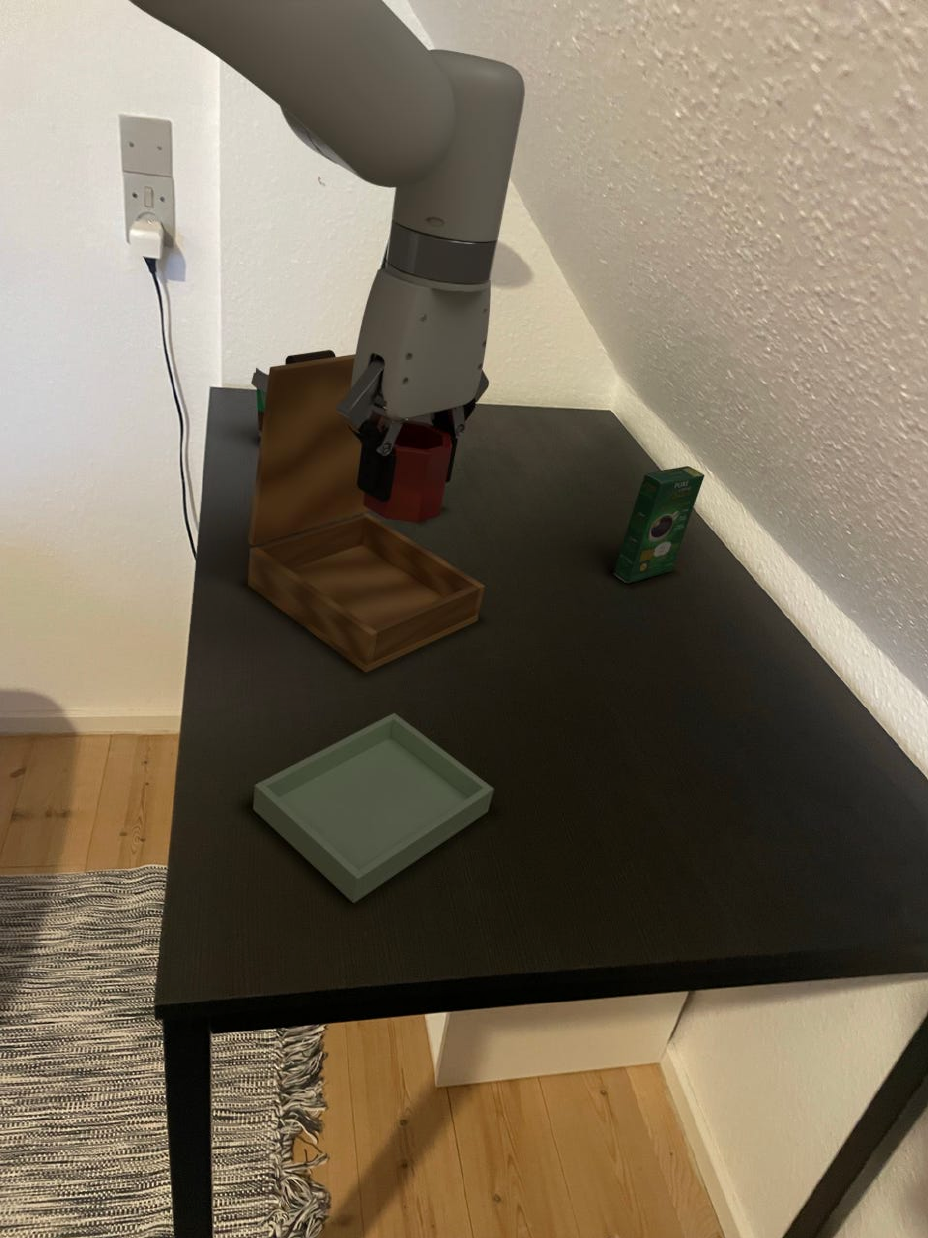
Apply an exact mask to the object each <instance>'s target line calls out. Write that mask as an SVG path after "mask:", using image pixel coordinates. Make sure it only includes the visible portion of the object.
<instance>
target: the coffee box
mask: <svg viewBox="0 0 928 1238" xmlns="http://www.w3.org/2000/svg"><path fill="white" fill-rule="evenodd" d="M704 479H705V474H704V473H702V472H700V471H699V470H697V469H695V468H693V467H691V466H689V465H686V466H680V467H674V468H668V469H662V470H657V471H651V472H644V473H643V477H642V480H641V484H640V488H639V490H638V494H637V496H636V500H635V503H634V506H633V509H632V513H631V515H630V518H629V522H628V525H627V527H626V532H625V533H624V534H625V535H624V538H623V541H622V544H621V547H620V550H619V554H618V556H617V560H616V563H615V566H614V568H613V573H612V574H613V575H614V576H615V577H617V578H618V579H619V580H621V581H622V582H624V583H625V584H632V583H638V582H641V581H642V580H645V579H649V578H652V577H656V576H661V575H664V574H668V573H671V572H672V570H673V567H674V565H675V562H676V559H677V556H678V554H679V550H680V548H681V545H682V541H683V538H684V536H685V533H686V530H687V528H688V525H689V522H690V519H691V515H692V514H693V513H692V512H693V510H694V507H695V504H696V502H697V498H698V496H699V492H700V490H701V487H702V485H703V481H704Z"/></svg>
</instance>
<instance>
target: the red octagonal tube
mask: <svg viewBox="0 0 928 1238" xmlns="http://www.w3.org/2000/svg"><path fill="white" fill-rule="evenodd" d="M387 421H388V420H387ZM387 421H382V422H379V423H378V425H377V428H378V429H379V430H380V432H381V433H382V432H383V430H384V428H385V425H386V423H387ZM451 450H452V445H451V437H450V435H449V434H447V433H445V432H444V431H442V430H440V429H438V428H436V427H434V426H432V425H430V424H428V423H424V422H417V421H411V420H408V419H405V421H404V423H403V425H402V428H401V430H400V432H399V435H398V437H397V439H396V441H395V444H394V446H393V448H392V450H391V452H392V453H394V454H395V455H396V465H395V472H394V478H393V485H392V491H391V497H390V499H389V500H388V501H386V502H381V501H379V500H377V499H375V498H374V497H372V496H370V495H369V494H367V493H365V492H364V500H363V505H364V506H365V507H367V508H369V509H370V510H369V511H372V512H374V513H375V514H377V515H379V516H380V517H382V518H384V519H386V520H392V521H401V522H408V523H415V524H418V523H421V522H424V521H427V520H431V519H433V518H436V517H439V516H440V514H441V509H442V507H441V504H442V499H443V500H444V493H445V486H446V483H445V482H446V477H447V472H448V466H449V461H450V455H451ZM442 505H443V504H442Z"/></svg>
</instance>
